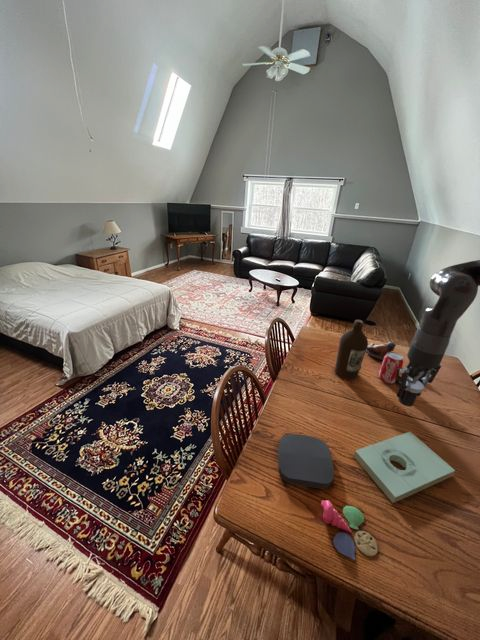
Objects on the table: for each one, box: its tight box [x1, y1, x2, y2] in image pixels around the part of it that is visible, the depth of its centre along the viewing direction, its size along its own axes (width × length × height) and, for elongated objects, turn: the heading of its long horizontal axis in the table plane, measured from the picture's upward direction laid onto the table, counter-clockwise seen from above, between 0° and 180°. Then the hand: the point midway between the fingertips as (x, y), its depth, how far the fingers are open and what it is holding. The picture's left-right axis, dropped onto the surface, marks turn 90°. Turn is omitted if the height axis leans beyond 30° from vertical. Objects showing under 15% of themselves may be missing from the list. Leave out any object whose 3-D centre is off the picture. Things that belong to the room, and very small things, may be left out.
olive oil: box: [334, 319, 369, 381], centre depth 111 cm, size 11×11×25 cm
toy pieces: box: [320, 500, 379, 561], centre depth 60 cm, size 12×11×4 cm
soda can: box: [378, 351, 404, 384], centre depth 110 cm, size 7×7×12 cm
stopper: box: [398, 377, 425, 407], centre depth 77 cm, size 5×5×7 cm
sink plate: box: [353, 431, 456, 504], centre depth 76 cm, size 22×14×2 cm, turn 110°
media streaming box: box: [277, 433, 335, 490], centre depth 75 cm, size 15×15×3 cm
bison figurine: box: [365, 341, 397, 361], centre depth 127 cm, size 12×7×10 cm, turn 43°
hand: (408, 395), depth 77 cm, fingers closed on stopper, 5 cm apart
